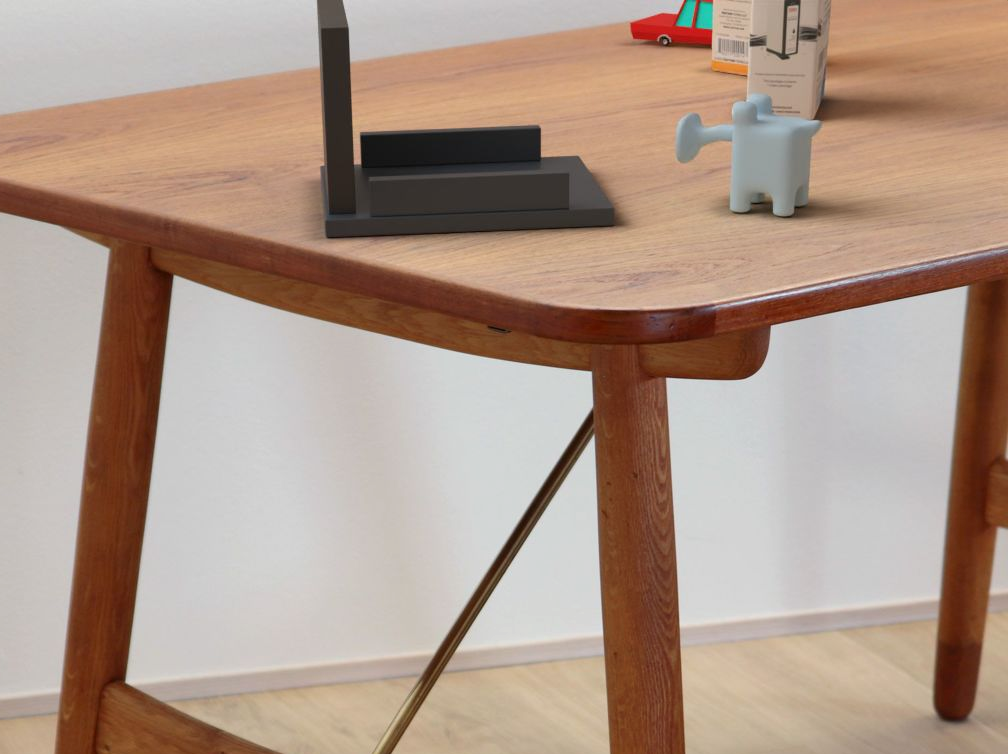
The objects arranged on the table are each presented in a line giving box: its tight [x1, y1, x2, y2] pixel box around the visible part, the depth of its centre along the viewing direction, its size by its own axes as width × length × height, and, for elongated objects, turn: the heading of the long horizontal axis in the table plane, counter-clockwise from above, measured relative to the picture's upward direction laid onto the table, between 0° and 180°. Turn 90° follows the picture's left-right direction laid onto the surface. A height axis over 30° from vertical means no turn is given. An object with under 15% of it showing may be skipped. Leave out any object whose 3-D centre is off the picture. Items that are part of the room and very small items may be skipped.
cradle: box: [316, 0, 616, 238], centre depth 110 cm, size 14×16×11 cm
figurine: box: [674, 93, 823, 217], centre depth 109 cm, size 4×8×6 cm, turn 62°
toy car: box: [629, 0, 713, 47], centre depth 162 cm, size 6×12×4 cm, turn 57°
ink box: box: [745, 0, 832, 120], centre depth 133 cm, size 9×5×12 cm, turn 163°
